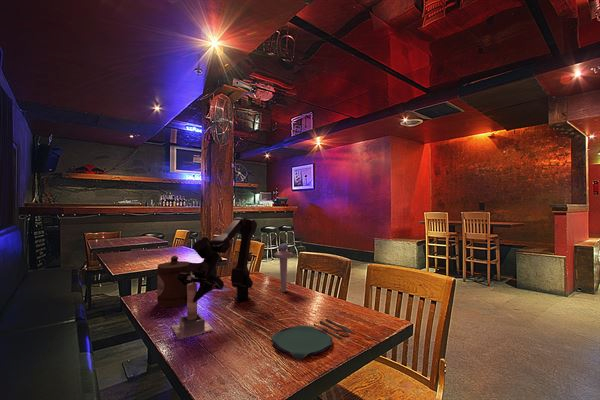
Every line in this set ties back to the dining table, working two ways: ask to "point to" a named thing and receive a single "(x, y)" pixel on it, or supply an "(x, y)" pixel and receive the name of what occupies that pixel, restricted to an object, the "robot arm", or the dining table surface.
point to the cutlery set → (306, 339)
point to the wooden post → (191, 301)
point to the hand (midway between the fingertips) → (189, 301)
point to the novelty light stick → (283, 264)
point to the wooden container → (171, 283)
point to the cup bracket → (191, 327)
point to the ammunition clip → (234, 264)
